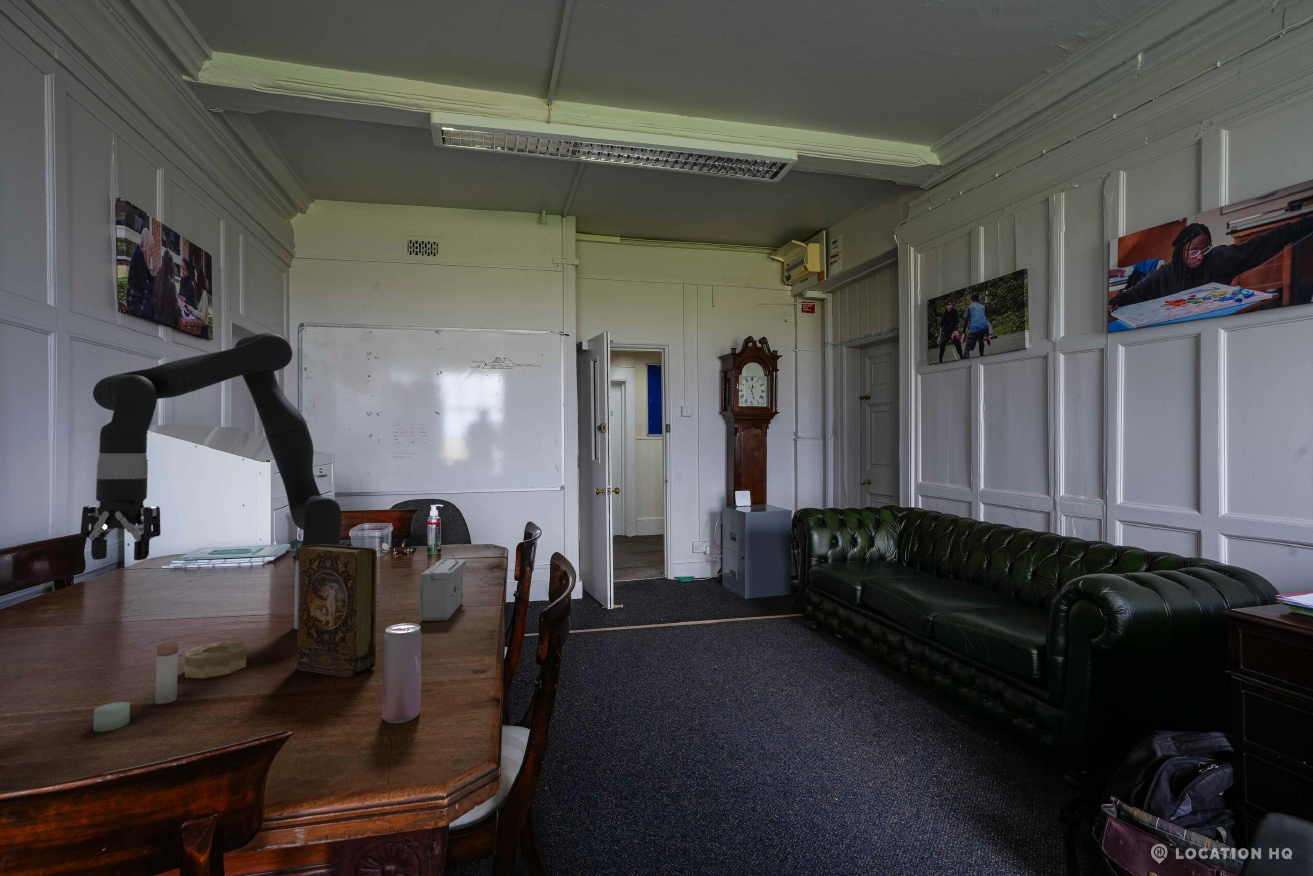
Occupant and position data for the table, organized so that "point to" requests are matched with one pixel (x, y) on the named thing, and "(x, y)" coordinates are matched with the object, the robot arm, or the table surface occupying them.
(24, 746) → the table surface
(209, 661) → the bead
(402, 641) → the beverage can
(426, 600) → the stereo radio cassette player
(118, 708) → the bead
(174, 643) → the grey cylinder
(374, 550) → the book
